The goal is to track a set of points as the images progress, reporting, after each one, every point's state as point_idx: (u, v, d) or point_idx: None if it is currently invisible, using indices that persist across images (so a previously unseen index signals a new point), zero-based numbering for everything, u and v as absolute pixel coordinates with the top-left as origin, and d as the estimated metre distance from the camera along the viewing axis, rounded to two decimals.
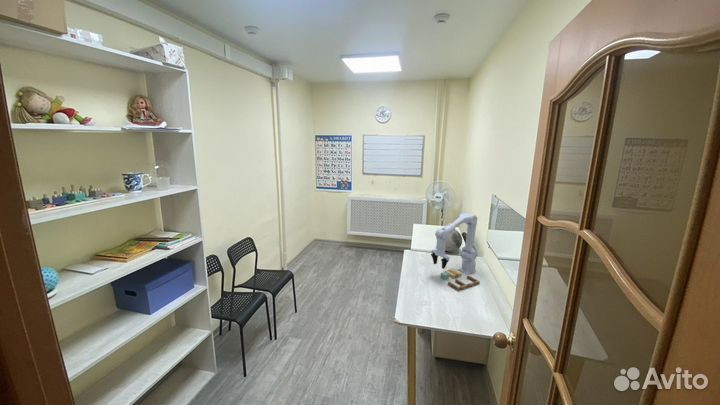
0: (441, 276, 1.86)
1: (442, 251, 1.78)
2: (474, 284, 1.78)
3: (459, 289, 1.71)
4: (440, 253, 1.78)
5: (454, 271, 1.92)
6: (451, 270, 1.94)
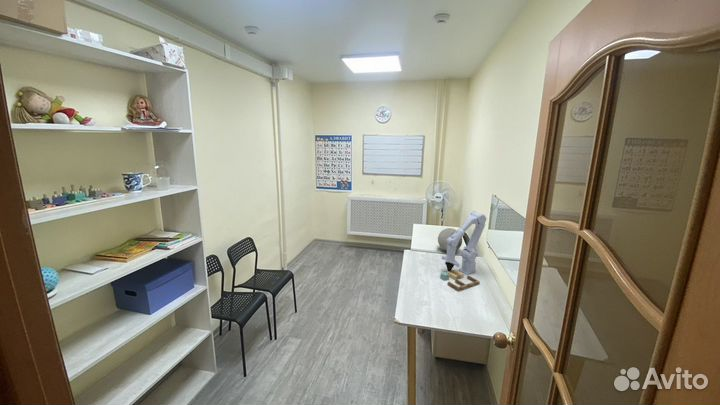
0: (441, 276, 1.86)
1: (452, 258, 1.89)
2: (474, 284, 1.78)
3: (459, 289, 1.71)
4: (450, 260, 1.90)
5: (456, 272, 1.91)
6: (453, 271, 1.92)
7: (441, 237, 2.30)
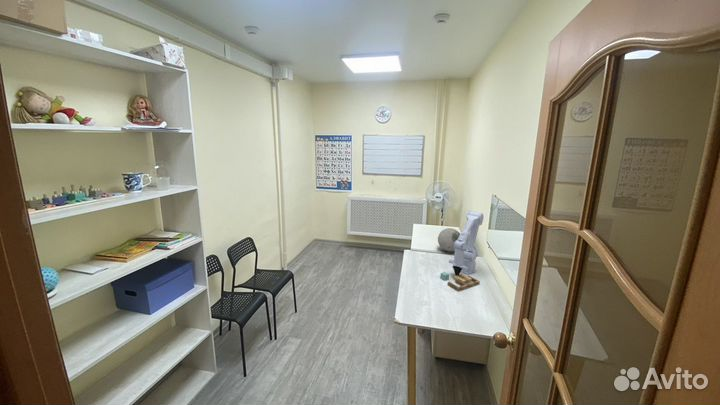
0: (441, 276, 1.86)
1: (460, 262, 1.83)
2: (474, 284, 1.78)
3: (459, 289, 1.71)
4: (458, 263, 1.84)
5: (464, 276, 1.85)
6: (461, 275, 1.86)
7: (441, 237, 2.30)
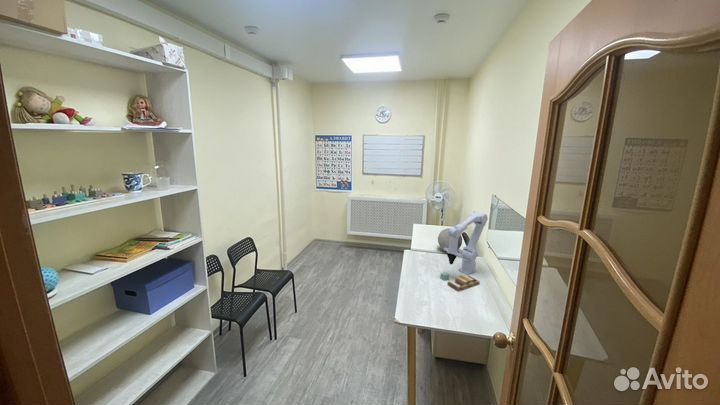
0: (441, 276, 1.86)
1: (454, 249, 1.83)
2: (474, 284, 1.78)
3: (459, 289, 1.71)
4: (452, 251, 1.83)
5: (466, 277, 1.83)
6: (462, 276, 1.85)
7: (441, 237, 2.30)
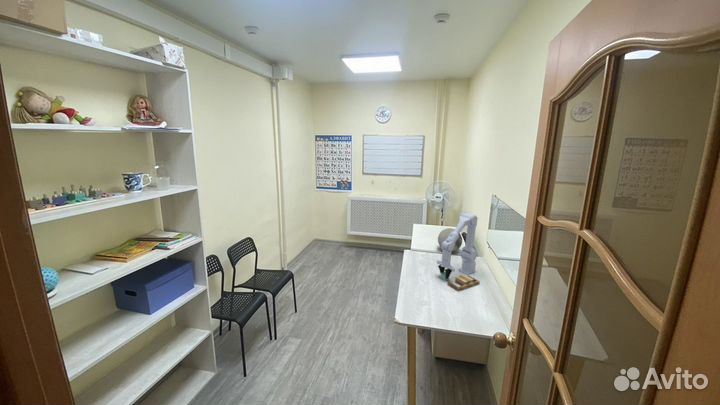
0: (441, 276, 1.86)
1: (448, 262, 1.81)
2: (474, 284, 1.78)
3: (459, 289, 1.71)
4: (446, 264, 1.82)
5: (465, 277, 1.83)
6: (462, 276, 1.85)
7: (441, 237, 2.30)
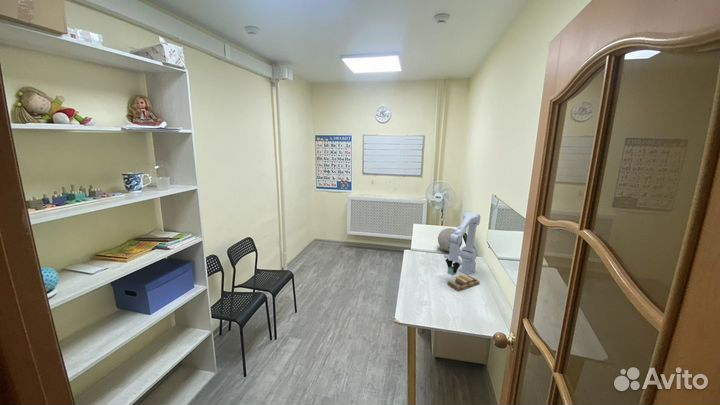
0: (448, 270, 1.79)
1: (455, 256, 1.74)
2: (474, 284, 1.78)
3: (459, 289, 1.71)
4: (453, 258, 1.75)
5: (465, 277, 1.83)
6: (462, 276, 1.85)
7: (441, 237, 2.30)
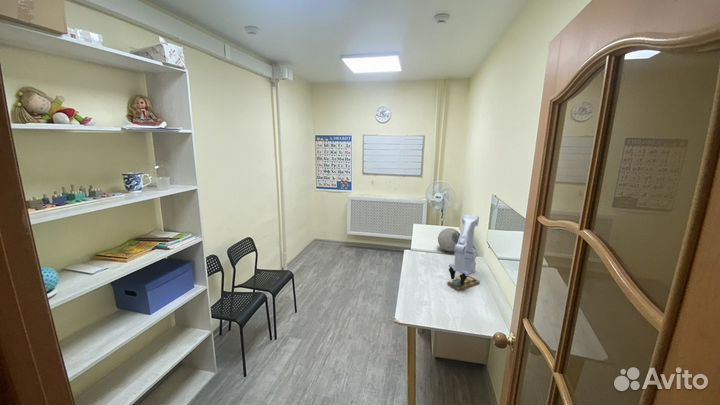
0: (453, 283, 1.77)
1: (461, 266, 1.71)
2: (474, 284, 1.78)
3: (459, 289, 1.71)
4: (459, 268, 1.72)
5: None
6: None
7: (441, 237, 2.30)
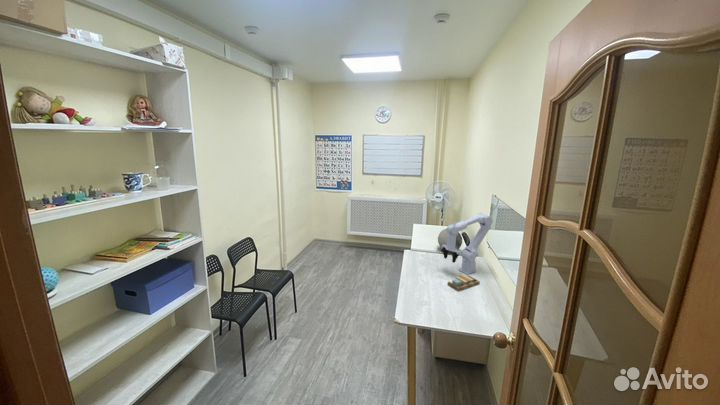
0: (453, 283, 1.77)
1: (453, 246, 1.88)
2: (474, 284, 1.78)
3: (459, 289, 1.71)
4: (451, 248, 1.88)
5: (465, 277, 1.83)
6: (462, 276, 1.85)
7: (441, 237, 2.30)
